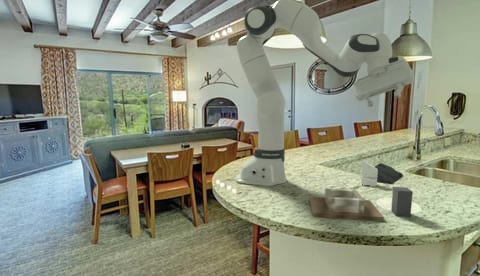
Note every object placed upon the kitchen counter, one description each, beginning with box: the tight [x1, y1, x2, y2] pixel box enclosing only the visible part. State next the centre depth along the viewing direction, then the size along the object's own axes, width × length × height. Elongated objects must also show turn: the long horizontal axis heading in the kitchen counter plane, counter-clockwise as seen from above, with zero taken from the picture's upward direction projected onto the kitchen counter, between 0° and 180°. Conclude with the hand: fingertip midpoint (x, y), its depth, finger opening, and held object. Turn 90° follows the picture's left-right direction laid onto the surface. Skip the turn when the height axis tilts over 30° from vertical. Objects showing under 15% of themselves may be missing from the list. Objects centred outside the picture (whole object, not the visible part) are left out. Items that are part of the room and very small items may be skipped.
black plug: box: [390, 186, 413, 218], centre depth 84 cm, size 4×4×8 cm
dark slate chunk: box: [364, 162, 404, 185], centre depth 127 cm, size 15×22×5 cm
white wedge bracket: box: [360, 159, 378, 187], centre depth 114 cm, size 4×10×9 cm
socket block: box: [308, 187, 385, 222], centre depth 88 cm, size 20×14×5 cm
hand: (383, 101), depth 96 cm, fingers open, 8 cm apart
